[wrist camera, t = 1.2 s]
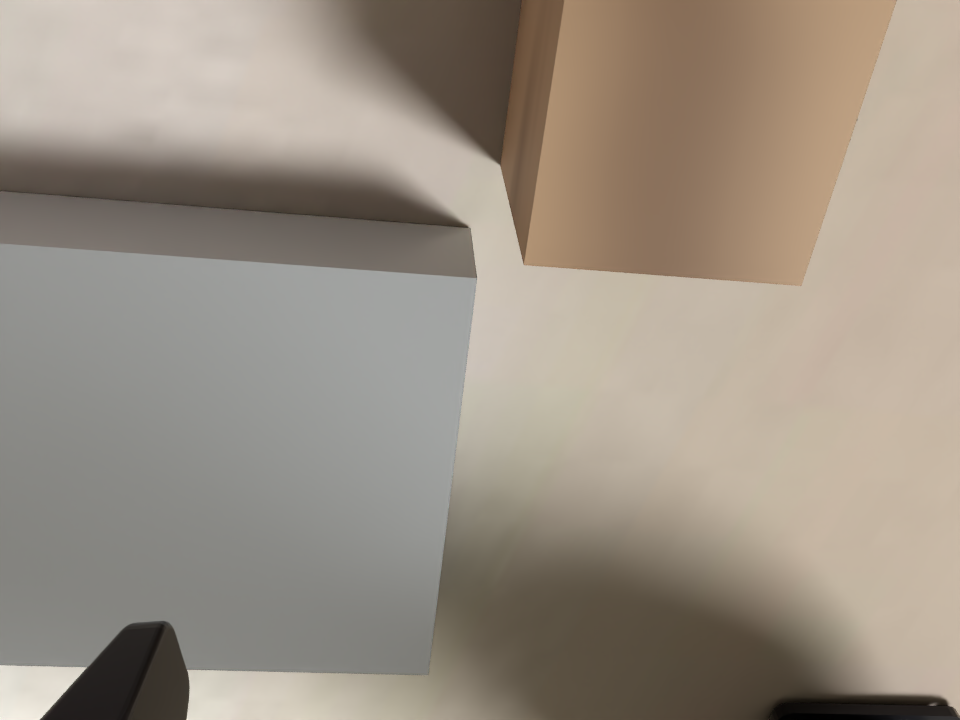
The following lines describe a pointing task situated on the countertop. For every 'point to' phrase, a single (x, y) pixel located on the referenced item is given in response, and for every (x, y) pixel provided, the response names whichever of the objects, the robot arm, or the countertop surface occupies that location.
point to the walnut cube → (683, 131)
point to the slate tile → (226, 432)
